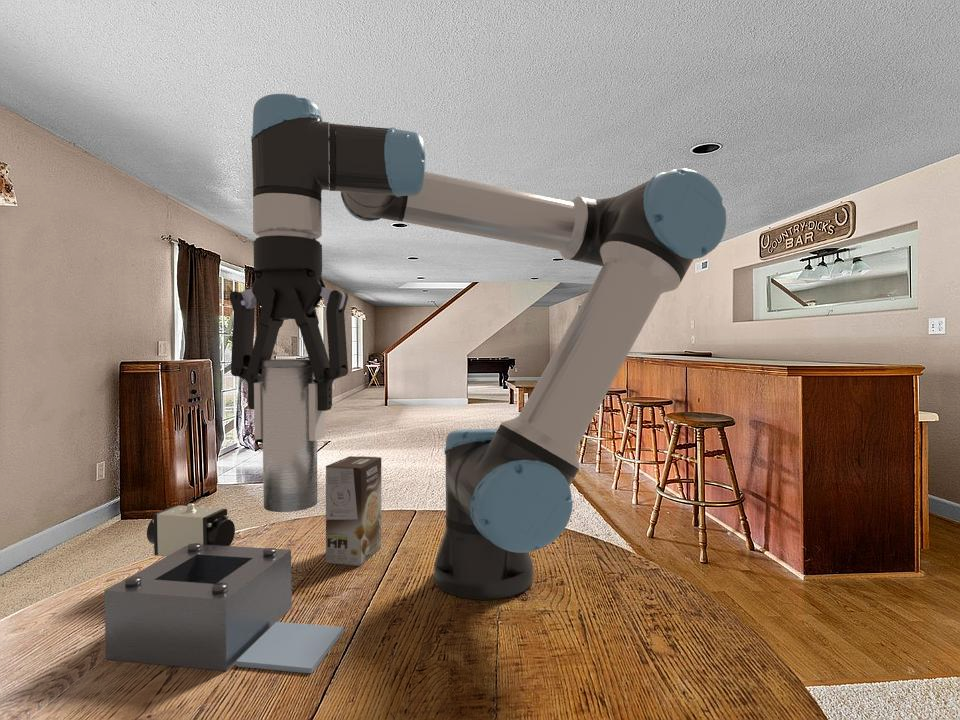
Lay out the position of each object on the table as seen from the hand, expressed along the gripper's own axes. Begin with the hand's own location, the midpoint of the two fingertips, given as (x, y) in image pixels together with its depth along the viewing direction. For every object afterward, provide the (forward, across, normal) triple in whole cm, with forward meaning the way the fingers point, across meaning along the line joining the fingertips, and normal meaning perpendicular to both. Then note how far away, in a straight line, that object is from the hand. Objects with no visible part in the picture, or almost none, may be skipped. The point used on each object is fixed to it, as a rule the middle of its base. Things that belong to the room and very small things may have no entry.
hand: (290, 437), depth 66 cm
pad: (+25, 0, 0) cm, 25 cm away
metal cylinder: (+8, 0, 0) cm, 8 cm away
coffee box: (+25, +4, -29) cm, 39 cm away
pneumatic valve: (+25, +24, -15) cm, 38 cm away
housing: (+25, +12, -2) cm, 28 cm away
